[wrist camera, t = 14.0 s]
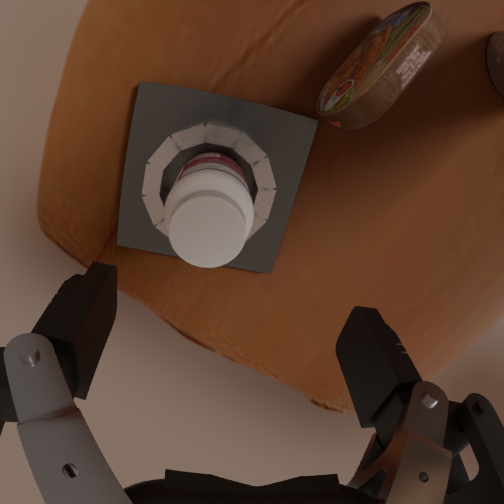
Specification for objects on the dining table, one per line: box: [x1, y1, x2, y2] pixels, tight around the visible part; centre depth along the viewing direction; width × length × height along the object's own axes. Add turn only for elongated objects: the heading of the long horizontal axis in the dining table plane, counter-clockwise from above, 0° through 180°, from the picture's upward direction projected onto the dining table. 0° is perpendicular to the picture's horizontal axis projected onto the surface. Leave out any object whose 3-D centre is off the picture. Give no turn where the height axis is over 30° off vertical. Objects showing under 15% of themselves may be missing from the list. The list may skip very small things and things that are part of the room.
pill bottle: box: [164, 152, 254, 268], centre depth 24 cm, size 6×6×11 cm
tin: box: [316, 1, 447, 131], centre depth 21 cm, size 15×3×8 cm, turn 143°
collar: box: [117, 81, 319, 274], centre depth 28 cm, size 16×16×4 cm
